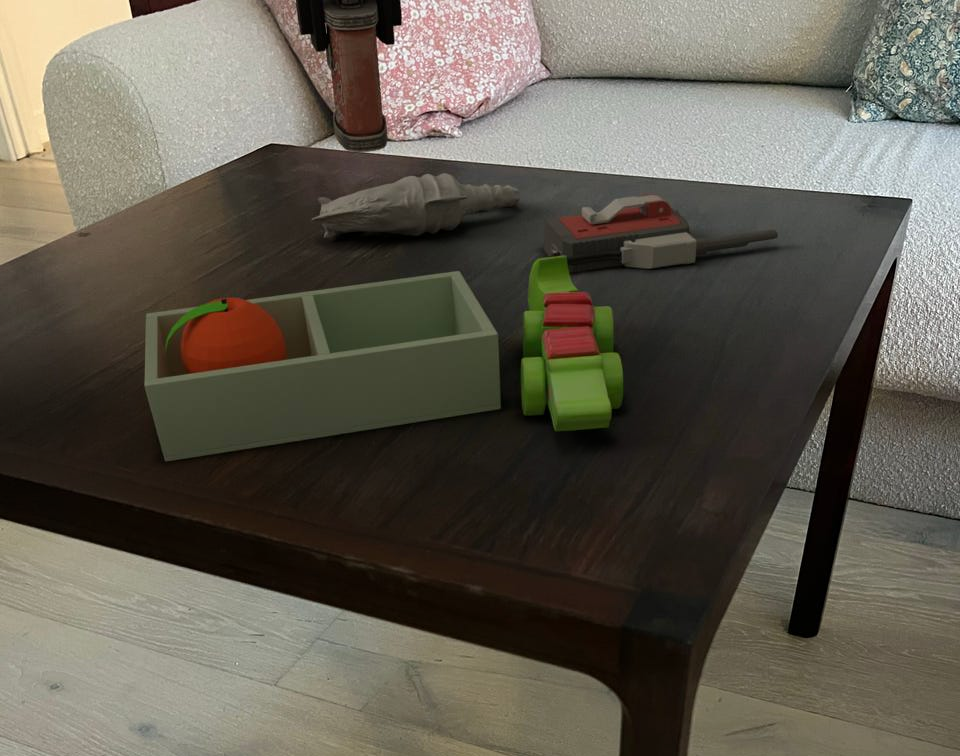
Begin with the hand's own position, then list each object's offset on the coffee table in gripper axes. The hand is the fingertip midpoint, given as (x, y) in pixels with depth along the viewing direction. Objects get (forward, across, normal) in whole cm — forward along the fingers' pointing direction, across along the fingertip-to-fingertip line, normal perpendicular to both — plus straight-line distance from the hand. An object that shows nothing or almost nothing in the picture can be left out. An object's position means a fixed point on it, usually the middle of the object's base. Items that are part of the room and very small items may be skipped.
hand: (352, 40), depth 65 cm
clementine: (+20, -11, -5) cm, 24 cm away
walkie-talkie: (+21, +26, +13) cm, 36 cm away
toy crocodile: (+21, +11, -9) cm, 26 cm away
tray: (+21, -5, -5) cm, 22 cm away
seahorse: (+21, +8, +27) cm, 35 cm away
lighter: (+6, 0, 0) cm, 6 cm away
